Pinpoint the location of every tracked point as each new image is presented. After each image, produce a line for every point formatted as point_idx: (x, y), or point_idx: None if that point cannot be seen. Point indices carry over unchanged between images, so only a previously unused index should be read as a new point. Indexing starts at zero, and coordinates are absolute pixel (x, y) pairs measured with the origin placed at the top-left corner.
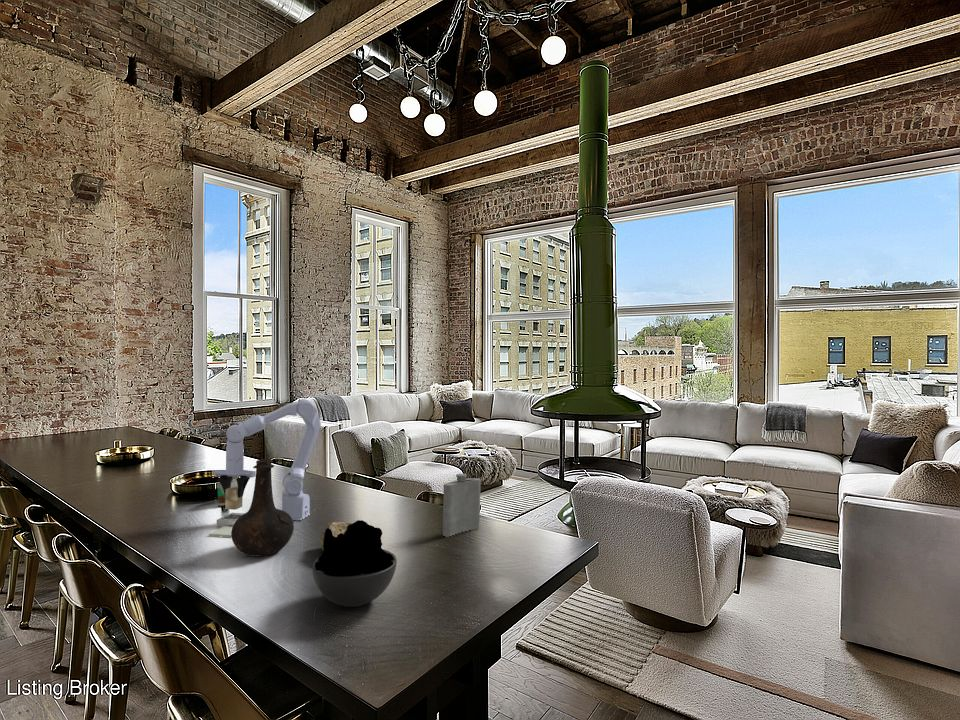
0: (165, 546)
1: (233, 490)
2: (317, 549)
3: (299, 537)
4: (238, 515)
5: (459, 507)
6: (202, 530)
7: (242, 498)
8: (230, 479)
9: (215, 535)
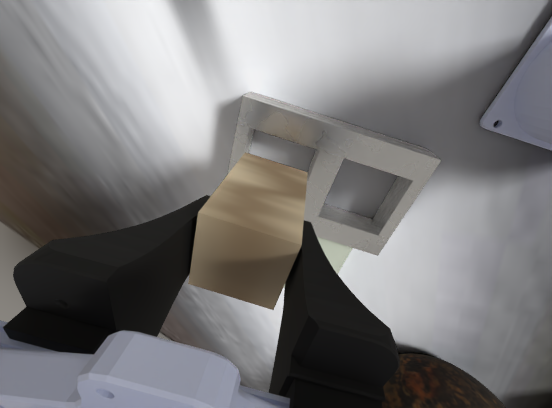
0: (178, 309)
1: (253, 299)
2: (543, 394)
3: (521, 326)
4: (288, 138)
5: None
6: None
7: (305, 195)
8: (145, 279)
9: None
